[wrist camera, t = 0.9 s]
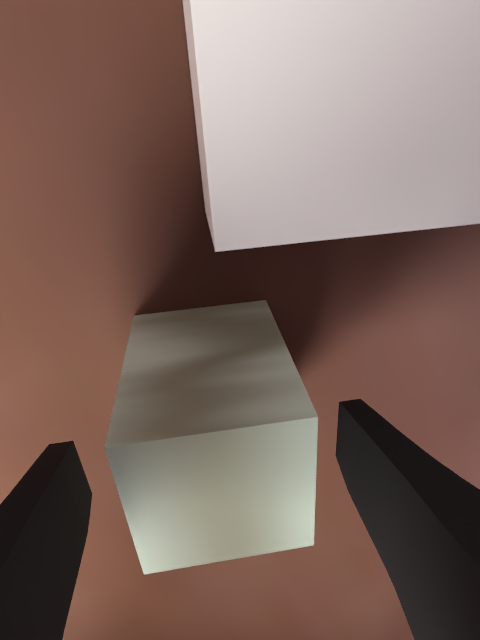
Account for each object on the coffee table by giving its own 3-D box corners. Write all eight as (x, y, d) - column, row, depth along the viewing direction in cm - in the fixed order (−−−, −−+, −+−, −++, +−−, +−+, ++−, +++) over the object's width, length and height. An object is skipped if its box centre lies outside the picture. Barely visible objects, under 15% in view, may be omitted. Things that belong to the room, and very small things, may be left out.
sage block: (265, 299, 14) (318, 416, 9) (269, 401, 16) (313, 545, 11) (134, 315, 13) (104, 447, 8) (156, 417, 16) (143, 574, 10)
